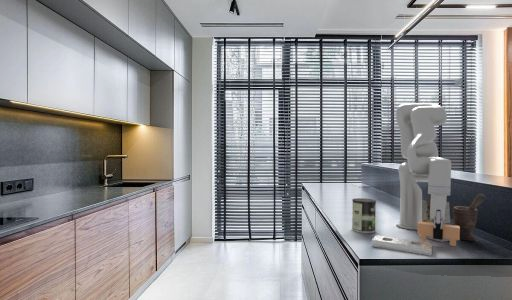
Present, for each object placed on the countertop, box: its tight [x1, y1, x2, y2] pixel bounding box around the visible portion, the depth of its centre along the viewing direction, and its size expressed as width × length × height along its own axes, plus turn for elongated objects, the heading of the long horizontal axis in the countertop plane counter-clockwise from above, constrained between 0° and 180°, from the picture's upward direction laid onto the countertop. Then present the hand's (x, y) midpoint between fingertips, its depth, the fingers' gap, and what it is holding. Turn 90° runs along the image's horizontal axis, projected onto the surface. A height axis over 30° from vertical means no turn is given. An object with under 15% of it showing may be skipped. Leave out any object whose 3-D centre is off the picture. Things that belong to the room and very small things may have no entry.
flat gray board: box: [371, 234, 433, 257], centre depth 121 cm, size 20×8×2 cm, turn 60°
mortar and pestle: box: [452, 193, 486, 242], centre depth 134 cm, size 12×9×20 cm
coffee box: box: [422, 198, 452, 243], centre depth 135 cm, size 9×6×16 cm
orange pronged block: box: [416, 221, 461, 247], centre depth 124 cm, size 14×4×7 cm, turn 60°
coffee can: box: [351, 197, 377, 234], centre depth 147 cm, size 10×10×14 cm
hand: (437, 236), depth 124 cm, fingers closed on orange pronged block, 4 cm apart
